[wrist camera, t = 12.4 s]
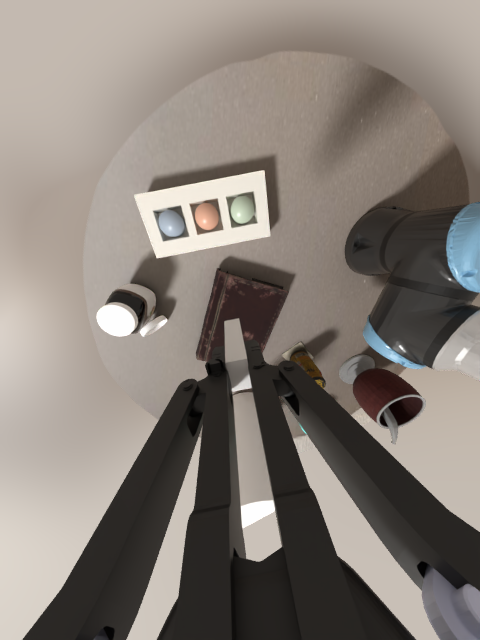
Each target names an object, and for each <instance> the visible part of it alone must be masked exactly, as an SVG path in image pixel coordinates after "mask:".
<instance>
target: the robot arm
mask: <svg viewBox="0 0 480 640" xmlns="http://www.w3.org/2000/svg"><path fill="white" fill-rule="evenodd" d="M345 258H346V262H347V264H348V266H349V267H350V268H351V269H352V270H353V271H354V272H356V273H359V274H363V275H367V276H375V275H380V274H389V273H391V275H390V277H389V279H388V281H387V283H386V285H385V287H384V289H383V290H382V292H381V294H380V296H379V298H378V300H377V302H376V304H375V306H374V308H373V310H372V312H371V314H370V315H369V316H368V318H367V323H366V325H365V327H364V330H363V335H364V337H365V340H366V342H367V343H368V344H369V345H370V346H371V347H372V348H373V349H374V350H376V351H377V352H378V353H380V354H381V355H383V356H384V357H386V358H387V359H389V360H391V361H393V362H395V363H398V362H399V363H400V364H401V365H403V366H405V367H408V368H413V369H421V368H423V367H426V366H428V367H430V368H432V369H433V370H436V371H445V370H455V371H459V372H461V373H463V374H465V375H467V376H470V377H472V378H474V379H476V380H478V381H480V307H477V306H473V305H471V304H472V302H473V300H474V299H475V297H476V296H477V295H478V294H479V293H480V202H476V203H472V204H469V205H462V206H455V207H448V208H440V209H433V210H426V211H418V212H414V211H411V210H407V209H403V208H400V207H395V206H389V207H383V208H378V209H375V210H372V211H370V212H369V213H367V214H366V215H364V216H363V217H362V218H361V219H360V220H359V221H358V222H357V223H356V224H355V225H354V227H353V228H352V230H351V232H350V234H349V236H348V238H347V241H346V245H345ZM224 327H225V346H219V347H215V348H214V350H213V351H212V359H210V360H209V361H208V362H207V363H206V365H205V367H206V370H207V373H208V376H207V377H206V378H204V379H202V380H200V381H198V382H197V381H196V380H195V379H187V380H185V381H183V382H182V383H181V384H180V385H179V386H178V388H177V390H176V391H175V393H174V395H173V397H172V398H171V400H170V402H169V404H168V405H167V407H166V409H165V410H164V412H163V414H162V416H161V417H160V419H159V421H158V423H157V424H156V426H155V428H154V430H153V431H152V433H151V435H150V437H149V438H148V440H147V442H146V443H145V445H144V447H143V449H142V450H141V452H140V454H139V456H138V457H137V459H136V461H135V462H134V464H133V466H132V468H131V469H130V471H129V473H128V475H127V476H126V478H125V480H124V482H123V483H122V485H121V487H120V489H119V490H118V492H117V494H116V496H115V497H114V499H113V501H112V502H111V504H110V506H109V508H108V509H107V511H106V513H105V514H104V516H103V518H102V520H101V521H100V523H99V525H98V527H97V529H96V530H95V532H94V534H93V535H92V537H91V539H90V540H89V542H88V544H87V546H86V547H85V549H84V551H83V553H82V555H81V556H80V558H79V560H78V561H77V563H76V565H75V566H74V568H73V570H72V572H71V573H70V575H69V577H68V579H67V580H66V582H65V584H64V586H63V587H62V589H61V590H60V591H59V593H58V594H57V595H56V597H55V598H54V599H53V601H52V602H51V603H50V604H49V606H48V607H47V609H46V610H45V611H44V612H43V614H42V615H41V616H40V618H39V619H38V620H37V622H36V623H35V624H34V625H33V627H32V628H31V629H30V630H29V632H28V633H27V634H26V636H25V637H24V638H23V640H126V639H127V637H128V634H129V632H130V630H131V627H132V625H133V623H134V621H135V618H136V616H137V614H138V611H139V608H140V605H141V603H142V600H143V597H144V595H145V592H146V589H147V587H148V584H149V580H150V578H151V575H152V572H153V569H154V566H155V563H156V560H157V557H158V554H159V551H160V548H161V545H162V542H163V539H164V537H165V534H166V531H167V528H168V524H169V522H170V519H171V516H172V513H173V510H174V507H175V504H176V501H177V498H178V495H179V492H180V489H181V487H182V484H183V481H184V478H185V475H186V472H187V469H188V466H189V463H190V460H191V457H192V454H193V451H194V448H195V445H196V442H197V440H198V437H199V434H200V431H201V428H202V425H203V428H202V438H201V448H200V457H199V467H198V477H197V487H196V497H195V506H194V510H193V512H192V513H191V515H190V517H189V520H188V524H187V531H186V538H185V547H184V555H183V563H182V571H181V580H180V588H179V596H178V599H177V600H176V602H175V604H174V606H173V607H172V609H171V611H170V613H169V615H168V617H167V619H166V621H165V624H164V626H163V628H162V630H161V632H160V634H159V636H158V638H157V640H416V639H415V638H414V637H413V636H412V635H411V633H410V632H409V631H408V630H407V629H406V628H405V627H404V626H403V625H402V623H401V622H400V621H399V620H398V619H397V618H396V617H395V616H394V614H392V612H391V611H390V610H389V609H388V608H387V606H386V605H385V604H384V603H383V602H382V601H381V600H380V598H379V597H378V596H377V595H376V594H375V593H374V592H373V591H372V589H371V588H370V587H369V586H368V585H367V584H366V583H365V582H364V581H363V579H362V578H361V577H360V576H359V575H358V574H357V573H356V572H355V571H354V569H352V568H351V567H350V566H349V565H348V564H347V563H346V562H345V561H343V560H342V559H341V558H340V557H338V556H337V554H336V551H335V548H334V545H333V543H332V540H331V537H330V534H329V531H328V529H327V526H326V523H325V520H324V518H323V515H322V512H321V509H320V506H319V504H318V501H317V499H316V496H315V494H314V492H313V490H312V489H311V488H310V486H309V484H308V481H307V478H306V475H305V472H304V470H303V467H302V464H301V461H300V458H299V455H298V452H297V449H296V446H295V444H294V441H293V438H292V435H291V432H290V429H289V426H288V423H287V421H286V418H285V415H284V412H283V409H282V406H281V403H280V400H279V397H278V396H281V397H282V399H283V401H284V402H285V403H286V405H287V406H288V408H289V409H290V411H291V412H292V414H293V415H294V416H295V418H296V419H297V421H298V422H299V424H300V425H301V426H302V428H303V429H304V431H305V432H306V434H307V435H308V436H309V438H310V439H311V441H312V442H313V444H314V445H315V447H316V448H317V449H318V451H319V452H320V454H321V455H322V457H323V458H324V459H325V461H326V462H327V464H328V465H329V466H330V468H331V470H332V471H333V472H334V474H335V475H336V477H337V478H338V480H339V481H340V482H341V484H342V485H343V487H344V488H345V490H346V491H347V492H348V494H349V495H350V497H351V498H352V500H353V501H354V502H355V504H356V505H357V507H358V508H359V510H360V511H361V513H362V514H363V515H364V517H365V518H366V520H367V521H368V523H369V524H370V525H371V527H372V528H373V530H374V531H375V533H376V534H377V536H378V537H379V538H380V540H381V541H382V542H383V544H384V545H385V546H386V548H387V549H388V551H389V552H390V553H391V555H392V556H393V557H394V559H395V560H396V561H397V562H398V564H399V565H400V566H401V567H402V568H403V569H404V571H405V572H406V573H407V574H408V576H409V577H410V578H411V579H412V580H413V582H414V583H415V584H416V585H417V586H418V587H419V588H420V589H421V590H422V599H423V604H424V608H425V611H426V613H427V616H428V618H429V621H430V623H431V625H432V627H433V628H434V630H435V632H436V634H437V635H438V637H439V638H440V640H480V532H479V531H477V530H476V529H474V528H473V527H471V526H470V525H469V524H467V523H466V522H464V521H463V520H462V519H460V518H459V517H457V516H456V515H454V514H453V513H451V512H450V511H449V510H448V509H446V508H445V506H444V505H443V504H441V503H440V502H439V501H438V500H437V499H436V498H435V497H434V496H433V495H432V494H431V493H430V492H429V491H428V490H427V489H426V488H425V487H424V486H423V485H422V484H421V483H420V482H419V481H418V480H417V479H416V478H415V477H414V476H413V475H412V474H410V472H408V471H407V470H406V469H405V468H404V467H403V466H402V465H401V464H400V463H399V462H398V461H397V460H396V459H395V458H394V457H393V456H392V455H391V454H390V453H389V452H388V451H387V450H386V449H385V448H384V447H383V446H381V444H380V443H379V442H378V441H376V440H375V439H374V438H373V437H372V436H371V435H370V434H369V433H368V432H367V431H366V430H365V429H364V428H363V427H362V426H361V425H360V424H359V423H358V422H357V421H356V420H355V419H354V418H353V417H352V416H351V415H350V414H349V413H348V412H347V411H346V410H345V409H343V408H342V407H341V406H340V405H339V404H338V403H337V402H336V401H335V400H334V399H333V398H332V397H331V396H330V395H329V394H328V393H327V392H326V391H325V390H324V389H323V388H322V387H321V386H320V385H319V384H318V383H317V382H316V381H315V380H314V379H313V378H312V377H310V376H309V375H308V374H307V373H306V372H305V371H304V370H303V369H302V368H301V367H300V366H299V365H298V364H297V363H296V362H294V361H289V360H286V361H283V362H281V363H280V364H279V366H273V365H269V364H267V363H266V362H265V361H264V358H263V355H262V352H261V349H260V346H259V343H258V342H257V341H256V340H250V341H244V340H243V335H242V331H241V326H240V321H239V318H238V319H233V320H227V321H224ZM249 388H252V392H253V397H254V402H255V407H256V413H257V418H258V423H259V428H260V434H261V439H262V444H263V449H264V454H265V460H266V465H267V470H268V475H269V481H270V486H271V491H272V496H273V502H274V507H275V512H276V517H277V522H278V528H279V533H280V538H281V544H282V547H281V548H280V549H279V550H277V551H276V552H274V553H273V554H271V555H270V556H268V557H267V558H266V559H264V560H263V561H260V562H256V561H252V560H248V559H246V553H245V544H244V538H243V530H242V517H241V503H240V489H239V475H238V460H237V446H236V432H235V417H234V403H233V395H232V392H233V391H239V390H244V389H249Z"/></svg>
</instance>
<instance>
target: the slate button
mask: <svg viewBox="0 0 480 640" xmlns="http://www.w3.org/2000/svg"><path fill="white" fill-rule="evenodd" d="M159 226H160V228H161V230H162V231H163V232H164V233H165V234H166V235H168V236H173V237H178V236H181V235H182V234H183V233H184V232H185V230H186V223H185V220H184V219H183V217H182V216H181V215H179V214H178V213H176V212H174V211H171V210H166V211H164V212H162V213H161V214H160V216H159Z"/></svg>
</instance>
